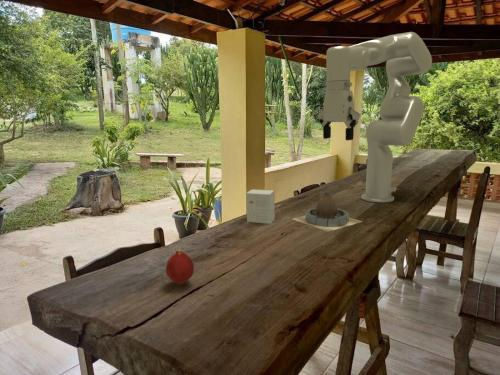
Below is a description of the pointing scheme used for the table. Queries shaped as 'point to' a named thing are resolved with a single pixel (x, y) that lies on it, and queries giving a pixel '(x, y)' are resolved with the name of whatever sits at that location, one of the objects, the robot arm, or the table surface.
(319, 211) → the vase
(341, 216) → the ring collar
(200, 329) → the table surface
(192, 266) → the onion
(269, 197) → the small box
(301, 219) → the birch board
